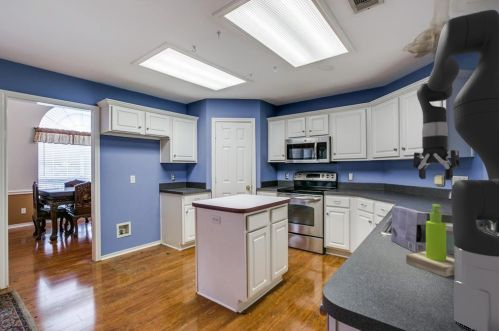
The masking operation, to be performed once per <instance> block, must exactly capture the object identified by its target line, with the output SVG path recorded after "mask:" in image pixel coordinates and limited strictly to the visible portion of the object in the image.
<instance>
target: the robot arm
mask: <svg viewBox="0 0 499 331" xmlns="http://www.w3.org/2000/svg"><path fill="white" fill-rule="evenodd" d="M473 53H477V54H478V59H477V60H478V61H477V65H476V67H475V68H474V71H473V73H472V74H471V75H470V77H469V78H468V80H467V81H466V82H465V84H464V85H463V86H462V88H461V89H460V91H458V93H457V95H456V97H455V99H454V101H453V104H452V109H453V110H452V111H453V121H454V122H453V124H454V129H455V130H456V132H457V134H458V136H460V137H461V139H462V140H463V141H464V142H465V144H467V145H468V146H469V147H470V148H471V149H472V150H473V152H475V153H476V154H477V156H478V157H479V158H480V160H481V161H482V163H483V165H484V168H485V170H486V174H487V179H460V180H456V181H455V182H454V183H453V184H452V187H451V190H450V202H451V203H450V205H451V206H450V207H451V217H452V219H451V220H452V224H453V235H454V255H453V256H454V257H453V258H454V275H453V277H454V281H453V321H454V320H455V321H457V322H459V323H461V324H463V325H465V326H467V327H469V328H471V329H475V330H477V331H499V236H497V235H493V234H491V233H488V232H485V231H483V230H482V229H480V228H479V227H478V224H477V221H487V222H488V221H489V222H490V221H491V222H499V11H498V10H496V9H487V10H481V11H478V12H473V13H468V14H463V15H459V16H456V17H451V18H450V19H448V20H447V21H446V22H445V23H444V25H443V27H442V29H441V31H440V35H439V39H438V44H437V49H436V53H435V58H434V64H433V68H432V70H431V73H430V75H429V78H428V79H427V82H426V83H425V82H424V83H422V84H420V85H419V86H418V88H417V91H416V96H417V100H418V102H419V103H418V104H420V107H421V112H422V130H421V136H422V138H421V140H422V143H421V144H422V145H421V147H422V152H414V153H413V165H412V166H413V168H415V169H418V177H419V178H420V179H421V180H426V177H427V176H426V171H427V170H426V168H427V167H428V166H429V165H430V164H441V165H442V166H443V167H444V168H445V170H444V178H445V181H451V180H452V179H453V177H454V176H453V171H454V169H455V168H456V169H457V168H460V167H461V166H460V165H461V164H460V154H459V153H460V152H459V150H456V149H452V150H448V148H449V137H448V136H449V128H448V123H447V121H448V118H447V116H448V115H447V113H448V112H447V109H446V107H444V106H440V105H439V106H436V105H433V104H432V103H433V102H443V101H446V100H448V99H450V98H451V97H452V95H453V84H454V82H455V80H456V79H457V78H458V76H459V72H460V65H459V62H458V61H457V60H456V59H455V58H454V57H453V56H461V55H466V54H473ZM448 156H449V157H450V160H449V159H448V158H447V157H448ZM422 157H423V159H422Z"/></svg>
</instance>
